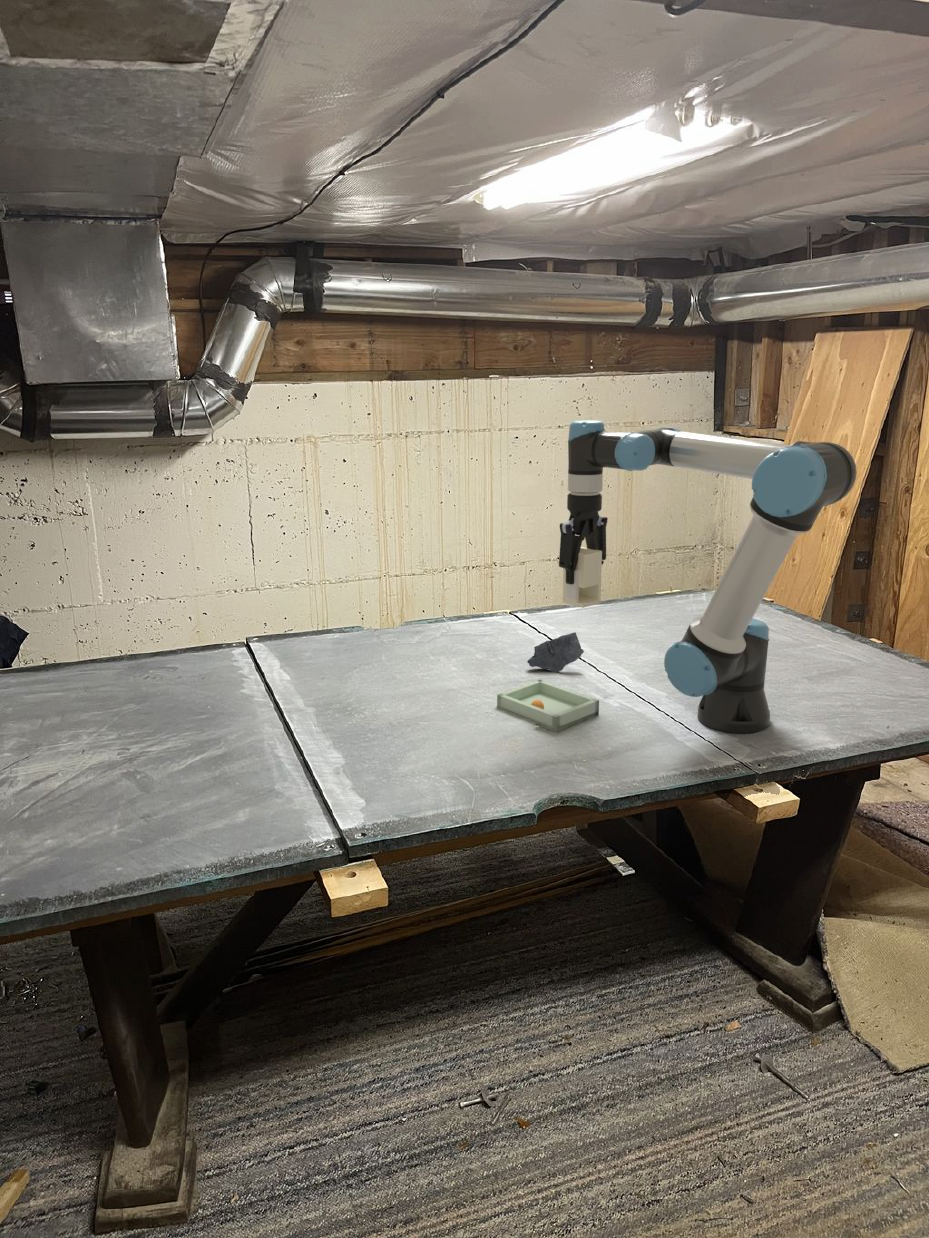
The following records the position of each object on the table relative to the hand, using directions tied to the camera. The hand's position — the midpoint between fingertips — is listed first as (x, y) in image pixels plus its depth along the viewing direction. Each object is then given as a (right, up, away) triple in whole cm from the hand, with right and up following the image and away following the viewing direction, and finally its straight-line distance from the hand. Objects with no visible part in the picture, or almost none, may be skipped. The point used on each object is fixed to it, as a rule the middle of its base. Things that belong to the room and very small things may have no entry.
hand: (582, 594), depth 203 cm
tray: (-8, -26, -1) cm, 28 cm away
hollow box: (0, -2, +1) cm, 2 cm away
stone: (-4, -19, +24) cm, 31 cm away
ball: (-9, -26, -5) cm, 28 cm away
